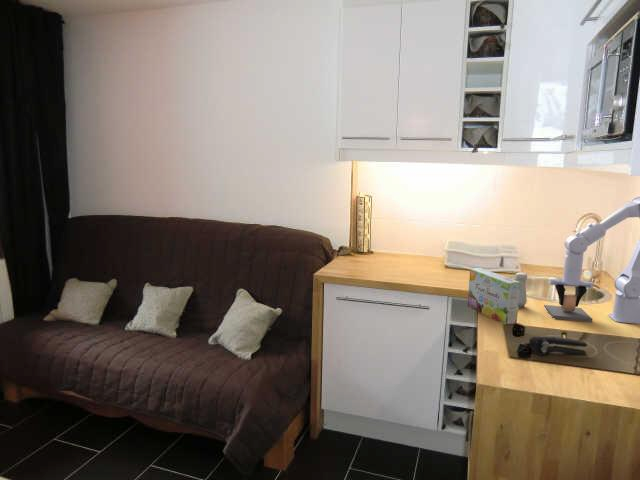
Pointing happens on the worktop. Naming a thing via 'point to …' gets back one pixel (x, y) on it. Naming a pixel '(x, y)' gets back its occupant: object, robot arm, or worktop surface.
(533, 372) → the worktop surface
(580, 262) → the robot arm
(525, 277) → the salt shaker
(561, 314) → the plate
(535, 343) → the can opener
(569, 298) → the toy block
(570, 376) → the worktop surface
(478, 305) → the snack box
